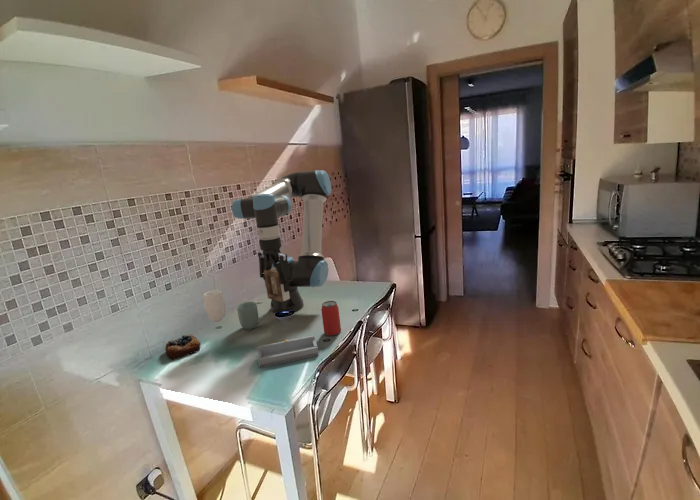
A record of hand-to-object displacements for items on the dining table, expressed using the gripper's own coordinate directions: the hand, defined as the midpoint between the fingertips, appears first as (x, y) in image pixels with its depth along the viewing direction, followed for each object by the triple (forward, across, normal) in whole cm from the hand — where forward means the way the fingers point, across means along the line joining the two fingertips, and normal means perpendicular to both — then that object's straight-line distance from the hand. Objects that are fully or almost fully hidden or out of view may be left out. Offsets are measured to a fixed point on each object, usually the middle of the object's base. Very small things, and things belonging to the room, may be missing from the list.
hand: (278, 297), depth 137 cm
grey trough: (+17, +11, -8) cm, 22 cm away
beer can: (+17, +12, +14) cm, 25 cm away
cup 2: (+17, -22, 0) cm, 28 cm away
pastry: (+18, -29, -25) cm, 43 cm away
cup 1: (+17, -21, -14) cm, 31 cm away
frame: (0, 0, 0) cm, 0 cm away
